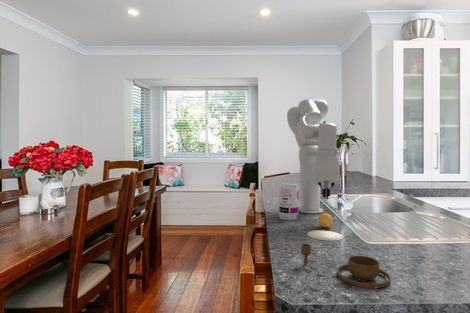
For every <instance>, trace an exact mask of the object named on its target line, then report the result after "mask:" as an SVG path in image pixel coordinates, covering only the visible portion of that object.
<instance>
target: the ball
mask: <svg viewBox="0 0 470 313" xmlns="http://www.w3.org/2000/svg"><path fill="white" fill-rule="evenodd" d="M317 223H318V225H319V226H320V227H322V228H329V227H331V226H332V224H333V218H332V216H331V215H330V214H329V213H327V212H322V213H319V215H318V217H317Z"/></svg>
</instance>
